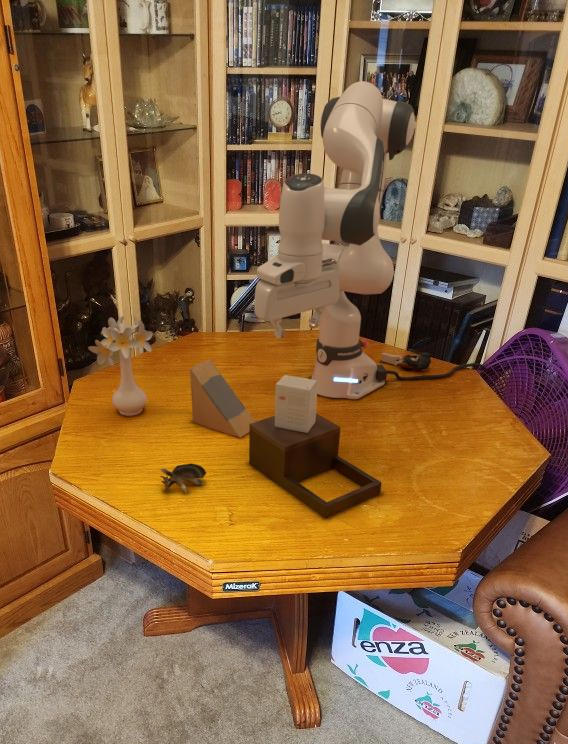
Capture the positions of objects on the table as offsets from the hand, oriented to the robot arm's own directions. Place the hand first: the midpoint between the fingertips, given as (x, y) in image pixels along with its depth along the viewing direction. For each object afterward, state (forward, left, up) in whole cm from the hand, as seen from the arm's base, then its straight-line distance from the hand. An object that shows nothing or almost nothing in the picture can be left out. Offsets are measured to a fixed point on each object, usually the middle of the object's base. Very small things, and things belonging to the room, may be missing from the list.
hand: (297, 332), depth 140 cm
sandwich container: (+3, -24, -31) cm, 39 cm away
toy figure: (-63, -23, -31) cm, 74 cm away
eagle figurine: (+28, -4, -31) cm, 42 cm away
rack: (+2, +10, -31) cm, 33 cm away
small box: (+2, +3, -21) cm, 21 cm away
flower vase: (+20, -44, -31) cm, 57 cm away
